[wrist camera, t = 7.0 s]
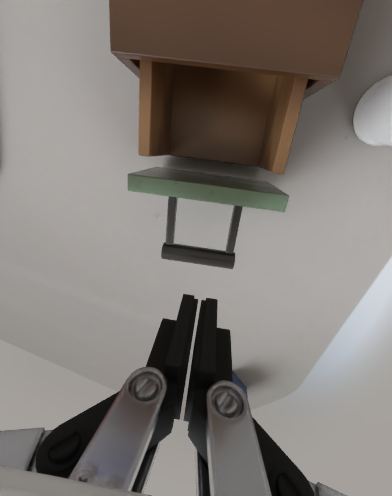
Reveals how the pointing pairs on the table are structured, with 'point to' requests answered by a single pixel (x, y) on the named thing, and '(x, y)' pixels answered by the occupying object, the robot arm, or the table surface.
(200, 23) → the cabinet
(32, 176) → the table surface
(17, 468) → the robot arm
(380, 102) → the drinking glass
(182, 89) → the drawer
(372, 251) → the table surface
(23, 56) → the table surface
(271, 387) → the table surface
